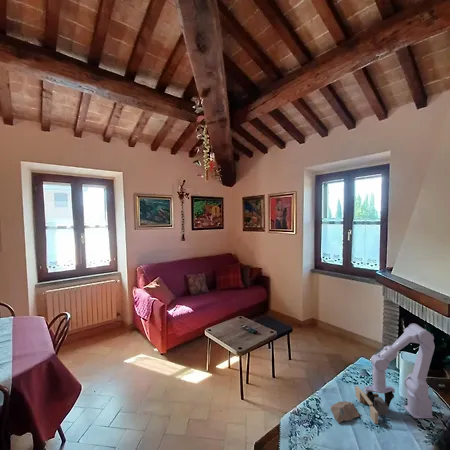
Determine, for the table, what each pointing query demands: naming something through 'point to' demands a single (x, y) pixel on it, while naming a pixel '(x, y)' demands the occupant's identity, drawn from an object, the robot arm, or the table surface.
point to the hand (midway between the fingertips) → (379, 405)
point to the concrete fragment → (344, 411)
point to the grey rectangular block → (380, 406)
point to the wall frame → (372, 410)
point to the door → (368, 397)
